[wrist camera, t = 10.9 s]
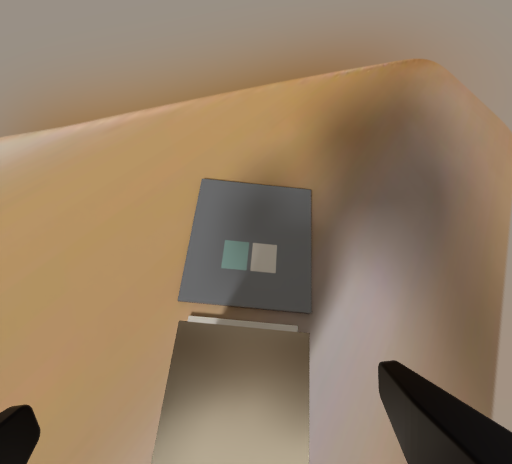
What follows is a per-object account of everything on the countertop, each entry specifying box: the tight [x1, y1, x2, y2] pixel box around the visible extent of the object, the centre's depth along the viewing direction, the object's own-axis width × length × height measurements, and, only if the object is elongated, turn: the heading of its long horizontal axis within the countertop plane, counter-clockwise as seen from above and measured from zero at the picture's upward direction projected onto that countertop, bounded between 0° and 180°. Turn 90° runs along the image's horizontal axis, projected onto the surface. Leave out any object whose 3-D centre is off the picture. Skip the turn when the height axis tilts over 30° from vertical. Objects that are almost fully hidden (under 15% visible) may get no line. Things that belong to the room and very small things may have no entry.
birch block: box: [151, 321, 309, 464], centre depth 14 cm, size 5×5×10 cm
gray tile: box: [178, 179, 311, 314], centre depth 23 cm, size 11×10×1 cm
